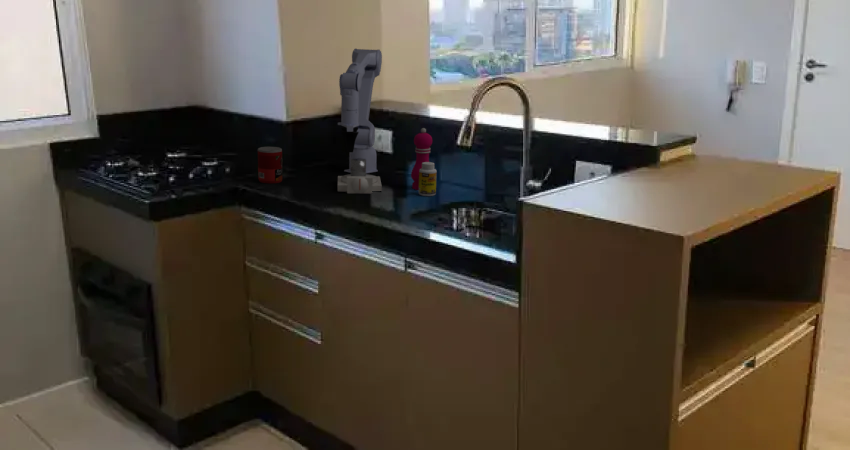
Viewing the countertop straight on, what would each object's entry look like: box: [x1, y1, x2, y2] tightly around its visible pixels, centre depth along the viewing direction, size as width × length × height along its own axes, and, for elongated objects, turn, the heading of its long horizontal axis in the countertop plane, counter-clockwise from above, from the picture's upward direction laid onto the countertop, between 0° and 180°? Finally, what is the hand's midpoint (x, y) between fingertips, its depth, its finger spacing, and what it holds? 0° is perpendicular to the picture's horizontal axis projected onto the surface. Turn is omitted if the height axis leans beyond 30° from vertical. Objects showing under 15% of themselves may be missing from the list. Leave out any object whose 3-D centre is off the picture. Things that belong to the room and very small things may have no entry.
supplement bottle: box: [418, 161, 438, 197], centre depth 259 cm, size 6×6×10 cm
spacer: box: [350, 158, 367, 176], centre depth 266 cm, size 5×5×6 cm
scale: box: [337, 173, 383, 194], centre depth 266 cm, size 17×14×5 cm
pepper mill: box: [410, 127, 433, 191], centre depth 265 cm, size 7×7×20 cm
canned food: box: [257, 146, 283, 185], centre depth 270 cm, size 8×8×11 cm
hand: (349, 150), depth 273 cm, fingers open, 7 cm apart
